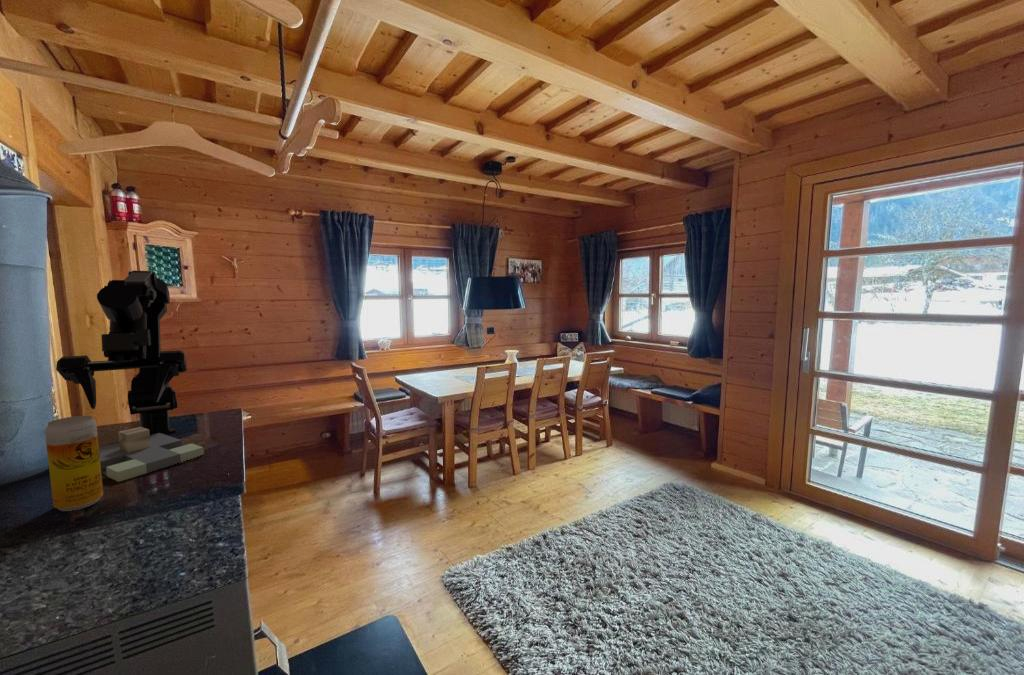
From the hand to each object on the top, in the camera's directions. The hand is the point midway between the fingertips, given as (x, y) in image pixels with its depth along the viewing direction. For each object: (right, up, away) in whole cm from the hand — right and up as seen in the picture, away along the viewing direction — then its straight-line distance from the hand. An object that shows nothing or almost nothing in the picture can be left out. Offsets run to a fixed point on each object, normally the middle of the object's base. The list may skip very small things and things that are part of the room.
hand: (125, 404), depth 82 cm
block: (-9, -12, +12) cm, 19 cm away
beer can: (0, -16, -8) cm, 18 cm away
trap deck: (-7, -14, +11) cm, 19 cm away
